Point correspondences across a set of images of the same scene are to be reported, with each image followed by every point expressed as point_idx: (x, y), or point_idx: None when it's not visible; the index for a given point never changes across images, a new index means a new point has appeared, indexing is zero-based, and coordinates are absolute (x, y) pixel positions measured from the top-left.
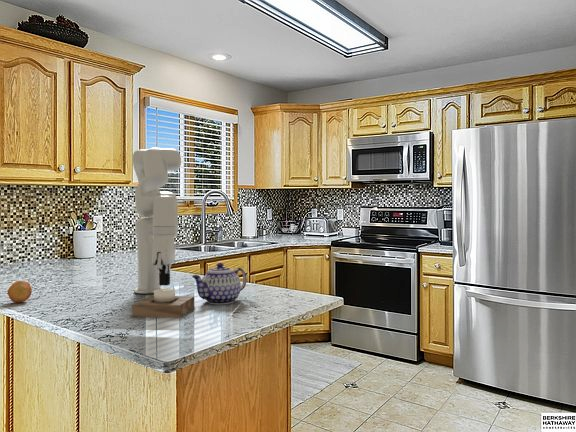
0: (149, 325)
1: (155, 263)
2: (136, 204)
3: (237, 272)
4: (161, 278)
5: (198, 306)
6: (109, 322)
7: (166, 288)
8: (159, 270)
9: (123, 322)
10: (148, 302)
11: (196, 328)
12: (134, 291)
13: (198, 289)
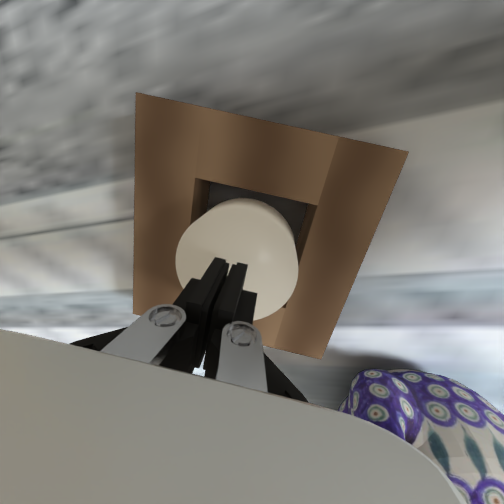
0: (46, 207)
1: (69, 359)
2: None
3: None
4: (181, 297)
5: (331, 339)
6: (55, 18)
7: (294, 275)
8: (99, 336)
9: (67, 93)
10: (191, 176)
11: (45, 332)
12: None
13: (361, 396)
